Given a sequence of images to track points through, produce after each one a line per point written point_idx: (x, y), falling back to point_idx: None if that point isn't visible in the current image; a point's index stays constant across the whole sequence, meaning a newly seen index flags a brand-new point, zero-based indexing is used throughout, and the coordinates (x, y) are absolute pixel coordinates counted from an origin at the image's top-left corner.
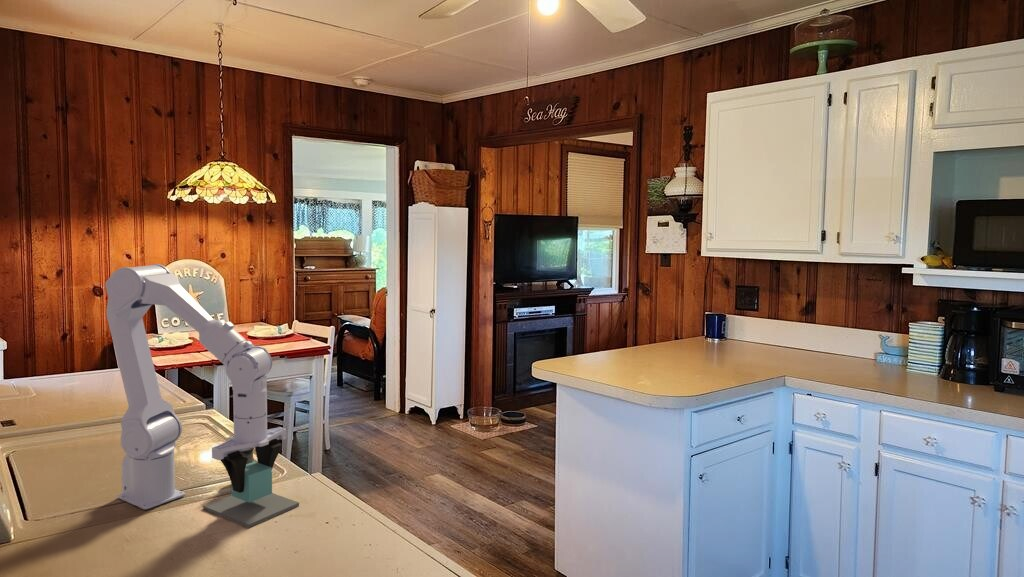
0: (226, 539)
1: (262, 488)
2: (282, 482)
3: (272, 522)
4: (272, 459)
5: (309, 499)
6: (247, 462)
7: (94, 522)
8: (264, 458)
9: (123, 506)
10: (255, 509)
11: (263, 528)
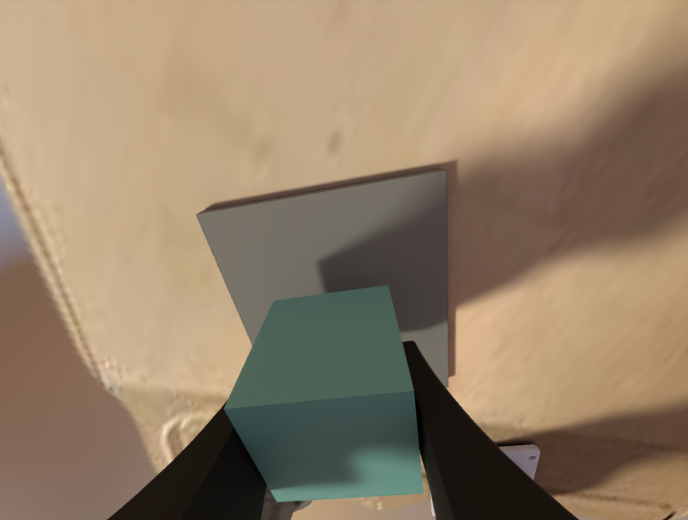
0: (559, 135)
1: (315, 319)
2: (194, 386)
3: (349, 146)
4: (185, 476)
5: (150, 234)
6: (264, 503)
7: (633, 453)
8: (230, 507)
9: (541, 475)
10: (354, 271)
11: (405, 118)
